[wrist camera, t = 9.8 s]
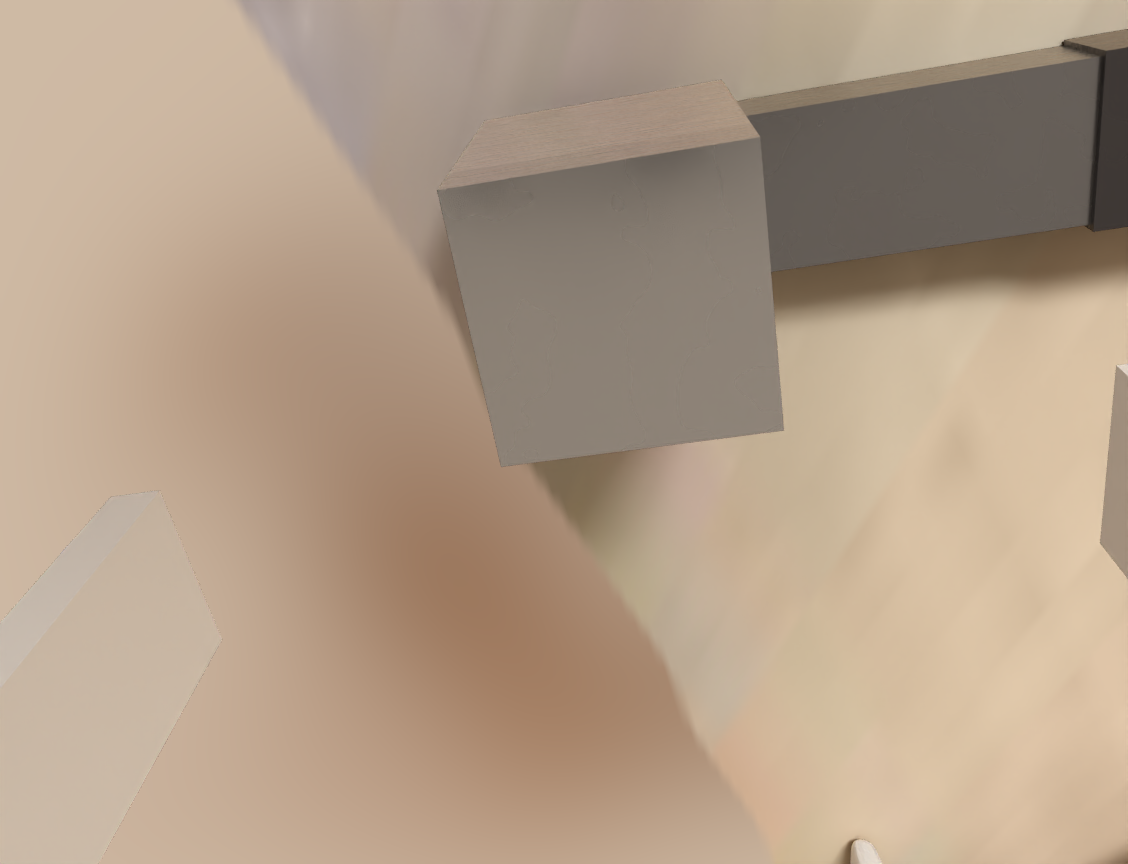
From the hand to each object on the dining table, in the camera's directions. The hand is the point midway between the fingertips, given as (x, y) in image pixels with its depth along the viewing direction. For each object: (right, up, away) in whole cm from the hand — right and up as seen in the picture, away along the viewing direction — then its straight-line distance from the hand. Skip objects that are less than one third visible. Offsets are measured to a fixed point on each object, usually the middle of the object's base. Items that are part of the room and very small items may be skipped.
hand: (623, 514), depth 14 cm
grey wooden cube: (+1, +7, +14) cm, 16 cm away
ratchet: (+10, +10, +15) cm, 21 cm away
